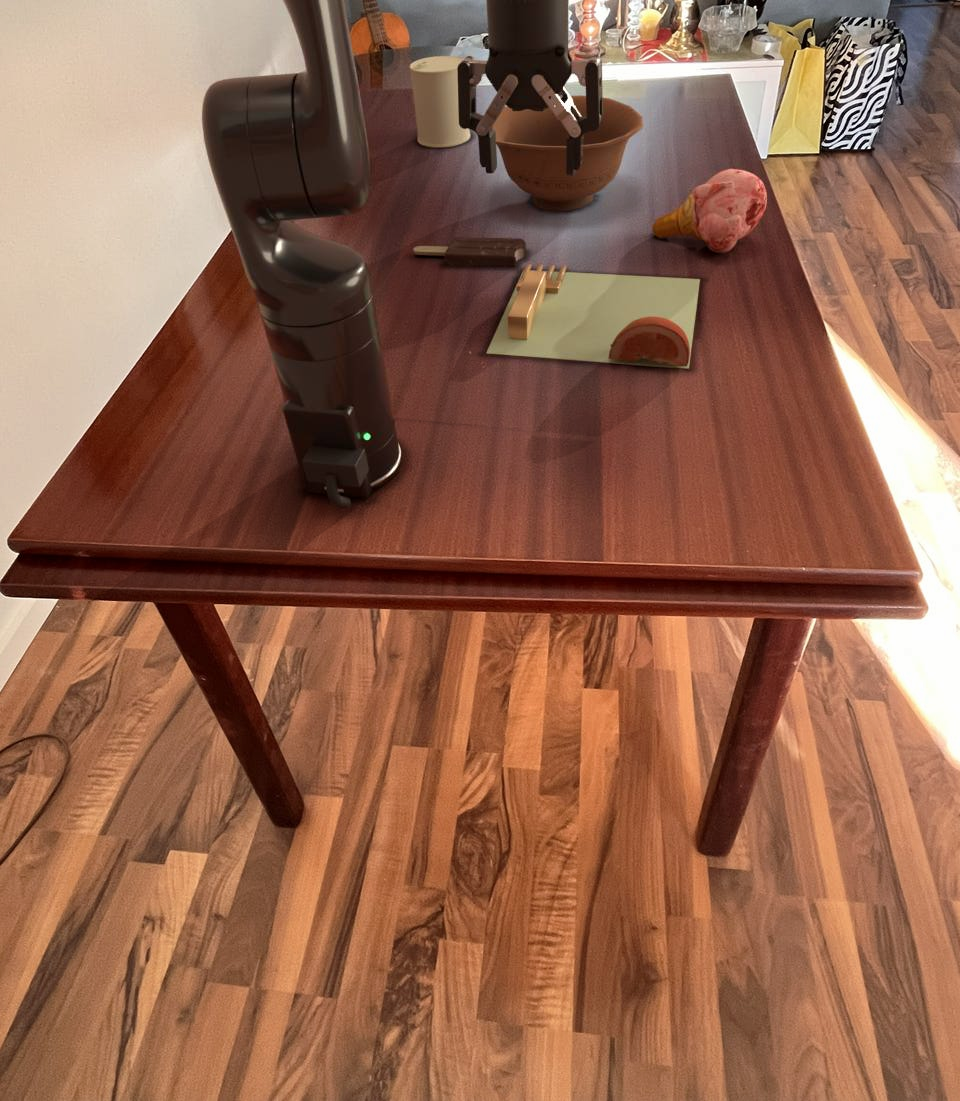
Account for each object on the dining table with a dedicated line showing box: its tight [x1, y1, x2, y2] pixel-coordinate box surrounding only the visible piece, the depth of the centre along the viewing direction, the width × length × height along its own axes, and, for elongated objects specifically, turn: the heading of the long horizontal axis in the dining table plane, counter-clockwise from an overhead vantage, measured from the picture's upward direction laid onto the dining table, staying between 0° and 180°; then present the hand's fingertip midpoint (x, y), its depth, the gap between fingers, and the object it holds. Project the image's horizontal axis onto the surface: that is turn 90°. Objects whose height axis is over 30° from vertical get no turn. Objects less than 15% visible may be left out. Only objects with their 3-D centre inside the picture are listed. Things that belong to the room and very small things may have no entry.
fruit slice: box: [608, 317, 691, 366], centre depth 85 cm, size 8×7×5 cm
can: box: [409, 55, 471, 149], centre depth 136 cm, size 9×9×12 cm
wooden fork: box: [508, 263, 567, 340], centre depth 96 cm, size 17×5×3 cm, turn 166°
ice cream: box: [652, 168, 768, 254], centre depth 103 cm, size 11×10×15 cm
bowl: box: [493, 95, 644, 212], centre depth 115 cm, size 22×22×11 cm
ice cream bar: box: [413, 236, 527, 268], centre depth 107 cm, size 5×2×15 cm
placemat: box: [486, 269, 701, 370], centre depth 94 cm, size 20×22×1 cm
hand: (531, 172), depth 85 cm, fingers open, 8 cm apart
